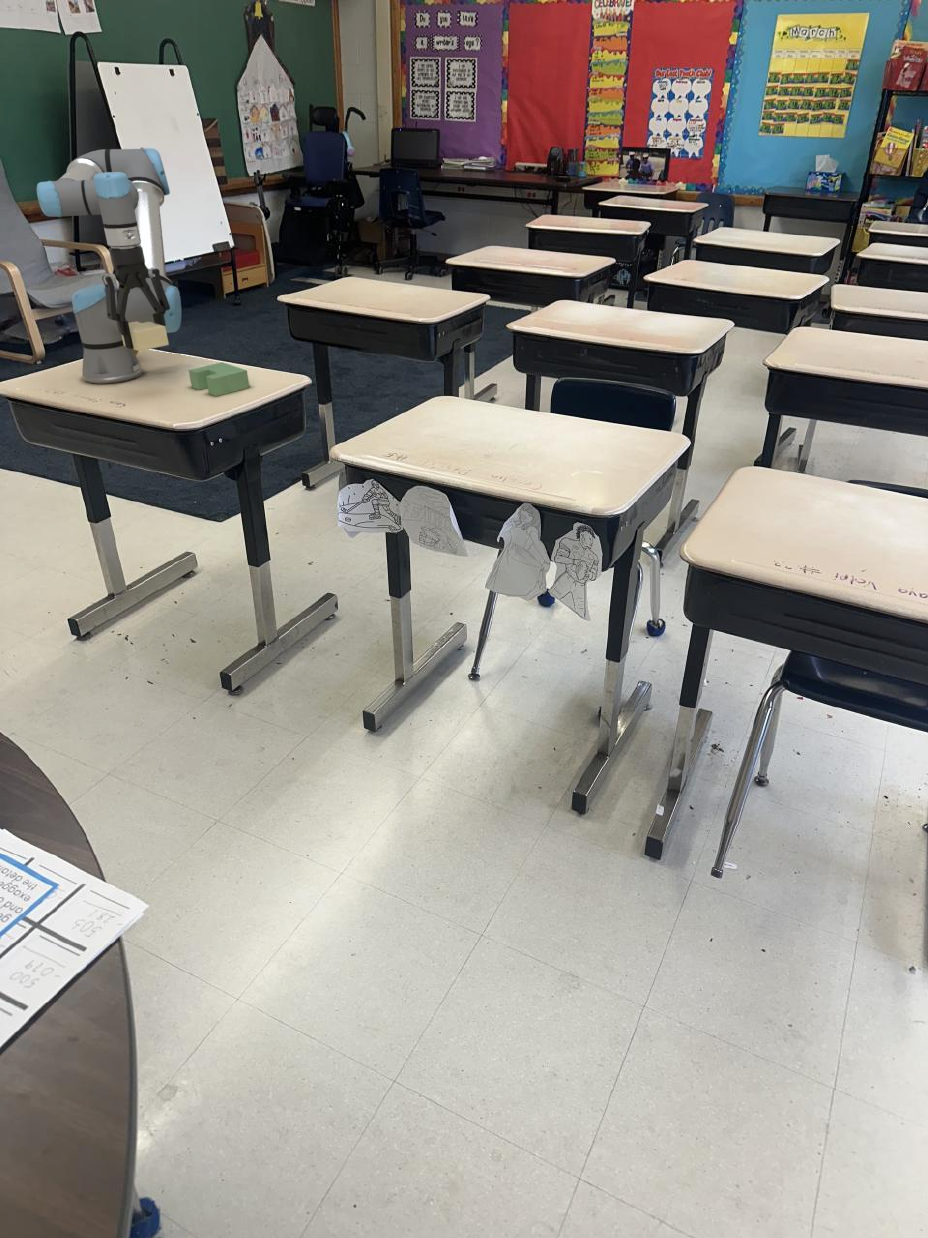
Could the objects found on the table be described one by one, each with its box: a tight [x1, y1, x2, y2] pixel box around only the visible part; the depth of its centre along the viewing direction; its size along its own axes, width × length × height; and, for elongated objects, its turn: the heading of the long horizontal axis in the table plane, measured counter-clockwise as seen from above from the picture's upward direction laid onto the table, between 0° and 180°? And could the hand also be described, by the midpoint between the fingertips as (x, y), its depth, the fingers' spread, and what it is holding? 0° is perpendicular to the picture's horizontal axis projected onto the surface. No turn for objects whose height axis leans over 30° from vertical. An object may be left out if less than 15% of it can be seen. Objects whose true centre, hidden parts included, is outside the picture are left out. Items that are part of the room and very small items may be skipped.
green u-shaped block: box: [188, 361, 250, 397], centre depth 223 cm, size 12×10×4 cm
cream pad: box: [122, 321, 170, 352], centre depth 214 cm, size 8×11×4 cm
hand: (146, 344), depth 214 cm, fingers closed on cream pad, 8 cm apart
